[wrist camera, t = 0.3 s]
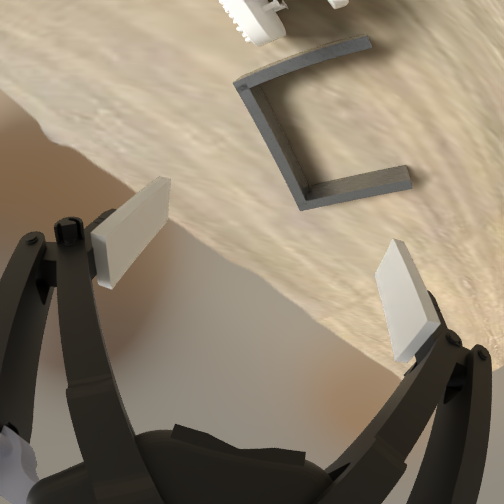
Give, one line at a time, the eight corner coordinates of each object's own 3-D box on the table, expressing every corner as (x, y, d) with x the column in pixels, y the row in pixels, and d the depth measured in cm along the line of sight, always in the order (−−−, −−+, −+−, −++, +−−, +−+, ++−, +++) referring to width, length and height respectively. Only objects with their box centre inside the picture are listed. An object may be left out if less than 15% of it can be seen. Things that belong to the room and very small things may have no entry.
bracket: (364, 34, 25) (367, 35, 22) (407, 173, 37) (412, 188, 35) (241, 76, 33) (232, 82, 31) (303, 195, 46) (300, 211, 43)
